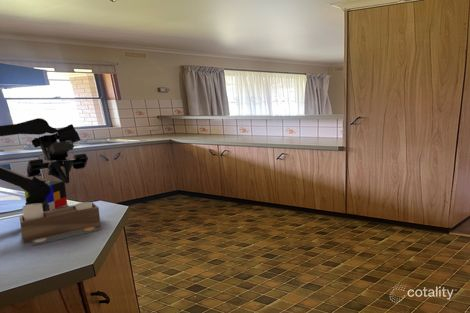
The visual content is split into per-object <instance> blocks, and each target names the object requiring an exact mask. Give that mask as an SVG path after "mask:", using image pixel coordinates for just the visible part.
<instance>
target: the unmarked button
mask: <svg viewBox="0 0 470 313" xmlns="http://www.w3.org/2000/svg"><path fill="white" fill-rule="evenodd" d="M22 213H23V215H24V221H27V220H32V219H37V218H42V217H44V215H43V207H42V204H41V203H35V204H29V205H23V206H22Z"/></svg>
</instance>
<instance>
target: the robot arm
mask: <svg viewBox="0 0 470 313" xmlns="http://www.w3.org/2000/svg"><path fill="white" fill-rule="evenodd" d="M15 135H42V136H39V137H34V138H33V139H32V140H31V144H32V146H33V147H34V149H37V148H40V149H41V152H42V154H43V155H44V157H43V159H42V158H37V159H36V158H35V159H32V160H31V159H30V160H28V163H27V166H26V173H27V176H26V175H23V174H21V173H18V172H16V171H13V170H11V169H8V168H6V167H3V166H1V165H0V180H1V181H4V182H7V183H8V184H12V185H15V186H17V187H20V188H21V189H22V190H24V192H25V191H26V192H28V195H27V197H26V198H25V205H29V204H35V203H41V204H42V207H43V212H44V211H49V210H50V209H49V204H48V201H47V200H45V197H46V196H48V195H49V194H50V184H49V183H48V182H47V181H48V180H47V179H46V178H45V177H40V175H41V173H42V172H41V170H42V171H43V170H48V172H47V175H48V176H53V177H54V178H56V179H59V180H60V181H63V182H65V184H69V183H70V172H71V169H72V168H73V169H75V170H80V169H85V168H86V166H87V164H88V163H87V162H88V160H89V157H88V155H87V153H77V154H74V155H73V158H68V156H69V154H68V152H69V151H72V150H73V149H75V143H79V141H80V142H81V137H80V135H79V133H78V131H76V128H75V127H74V125H73V124H72V123H71V124H68V125H67V126H64V127H61V128H59V129H56V127H53V126H51V125H49V123H48V121H47V120H46V119H44V118H42V117H41V118H39V117H37V118H33V119H30V120H26V121H23V122H18V123H12V124H5V125H4V124H3V125H0V137H5V136H15ZM44 161H46V162H44ZM25 205H24V206H25Z"/></svg>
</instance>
